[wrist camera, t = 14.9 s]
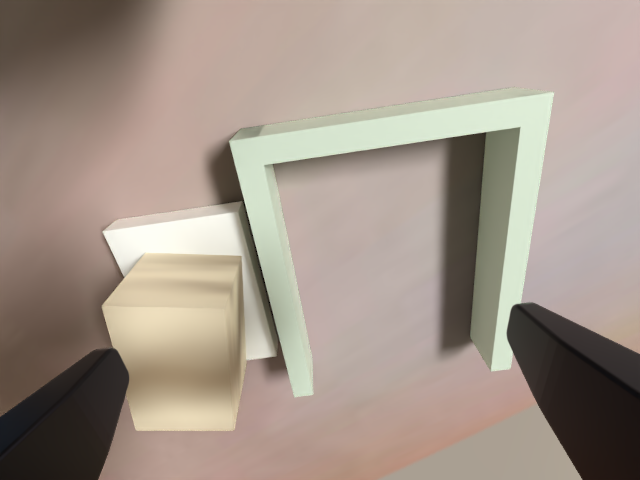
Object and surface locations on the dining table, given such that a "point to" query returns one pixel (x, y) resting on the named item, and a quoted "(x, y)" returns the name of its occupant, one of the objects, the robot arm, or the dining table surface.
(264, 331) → the stand
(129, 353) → the block
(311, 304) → the dining table surface
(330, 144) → the shelf bay
